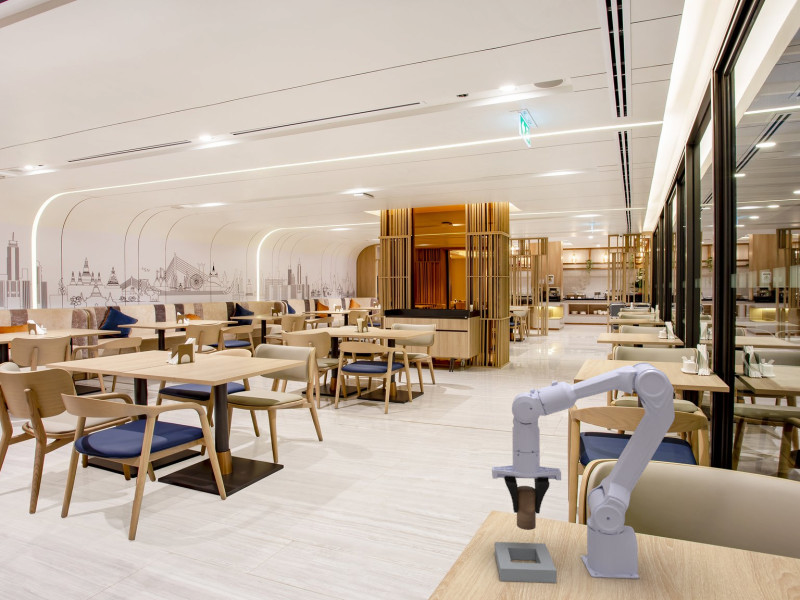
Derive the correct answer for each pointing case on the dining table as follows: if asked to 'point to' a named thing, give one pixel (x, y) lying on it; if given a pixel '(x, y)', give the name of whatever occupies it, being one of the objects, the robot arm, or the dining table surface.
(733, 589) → the dining table surface
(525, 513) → the plug
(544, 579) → the socket block
